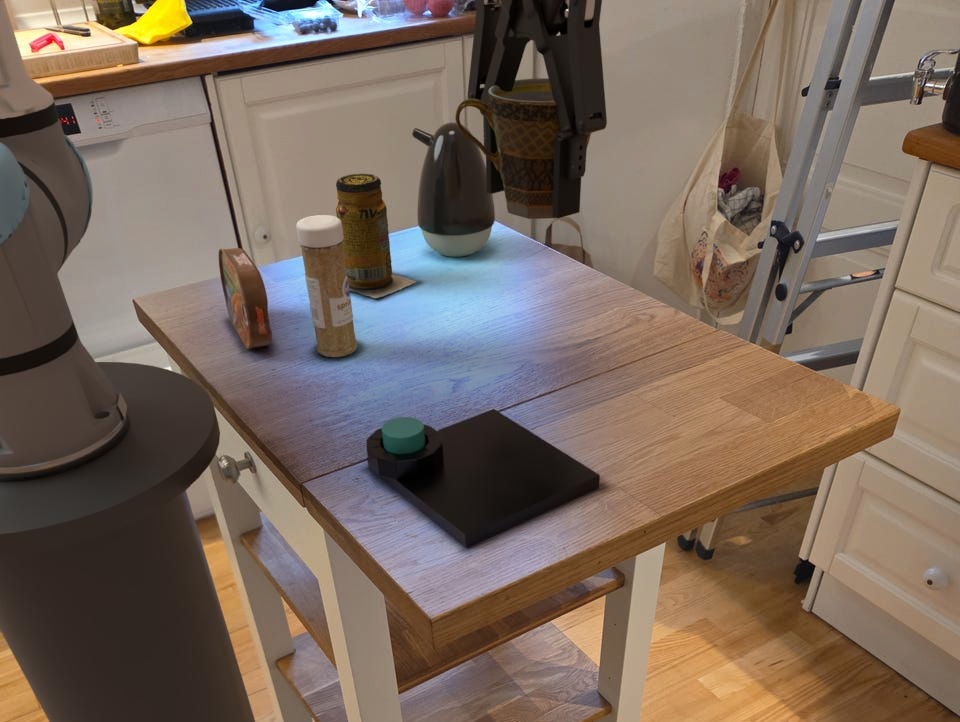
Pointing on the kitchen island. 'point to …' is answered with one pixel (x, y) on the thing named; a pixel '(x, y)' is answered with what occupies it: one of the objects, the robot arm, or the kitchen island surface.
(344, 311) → the spice jar
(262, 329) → the tin
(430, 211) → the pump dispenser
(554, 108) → the ceramic cup
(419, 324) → the kitchen island surface
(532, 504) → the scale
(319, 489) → the kitchen island surface
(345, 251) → the condiment
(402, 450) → the button
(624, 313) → the kitchen island surface
